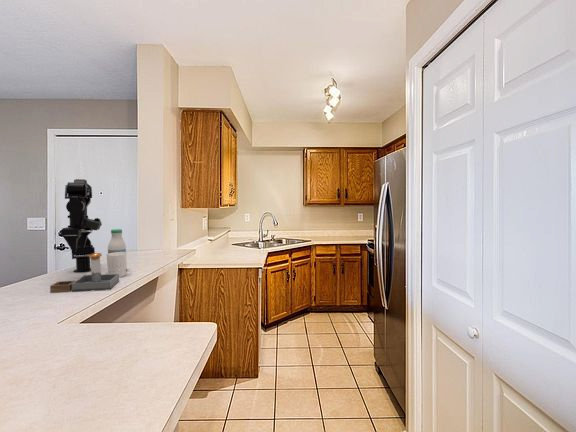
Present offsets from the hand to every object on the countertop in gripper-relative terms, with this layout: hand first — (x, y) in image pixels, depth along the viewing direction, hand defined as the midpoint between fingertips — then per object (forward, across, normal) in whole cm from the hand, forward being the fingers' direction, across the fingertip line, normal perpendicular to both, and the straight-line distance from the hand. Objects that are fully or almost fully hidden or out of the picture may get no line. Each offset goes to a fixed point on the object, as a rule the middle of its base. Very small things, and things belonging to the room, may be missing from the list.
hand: (78, 250), depth 138 cm
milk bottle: (+13, +15, -11) cm, 23 cm away
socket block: (+13, -13, +1) cm, 18 cm away
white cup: (+13, +6, -13) cm, 20 cm away
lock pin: (+12, -10, -9) cm, 18 cm away
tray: (+13, -10, -10) cm, 19 cm away
